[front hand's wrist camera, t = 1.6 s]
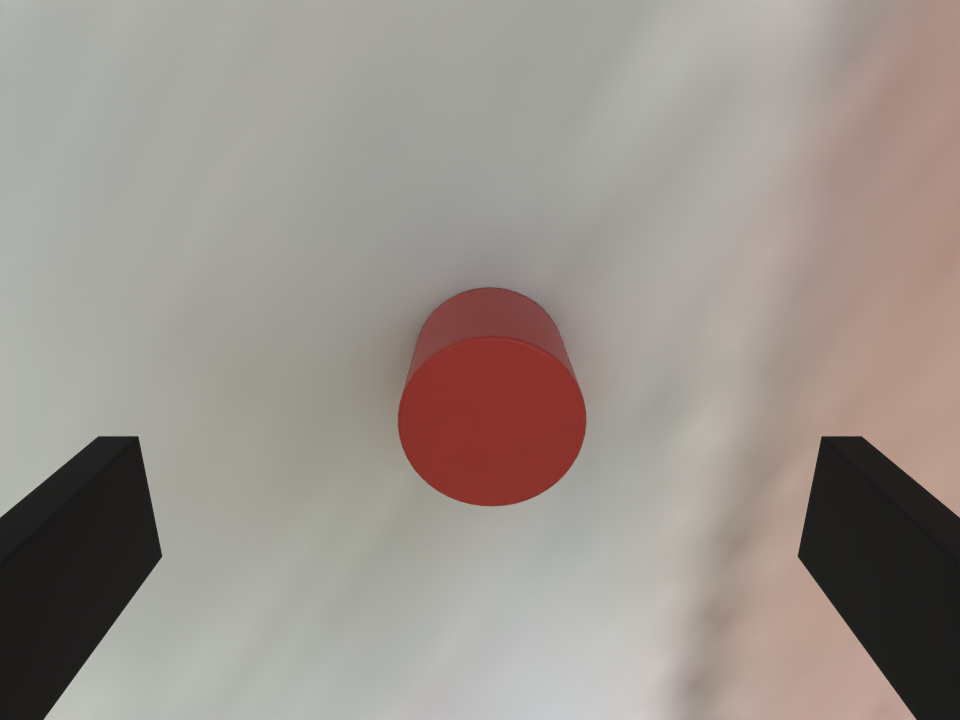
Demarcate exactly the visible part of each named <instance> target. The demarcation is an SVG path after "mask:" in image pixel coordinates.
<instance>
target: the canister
mask: <svg viewBox="0 0 960 720" xmlns="http://www.w3.org/2000/svg"><path fill="white" fill-rule="evenodd" d="M398 430H399V437H400V441H401V444H402V447H403V450H404V452H405V454H406V456H407V458H408V460H409V462H410V463H411V465H412V466H413V468H414V469H415V470H416V472H417V473H418V474H419V475H420V476H421V477H422V478H423V479H424V480H425V481H426V482H427V483H428V484H429V485H430V486H432V487H433V488H435V489H436V490H437V491H439V492H441V493H443V494H444V495H446V496H448V497H450V498H453V499H455V500H458V501H461V502H465V503H468V504H473V505H480V506H504V505H510V504H515V503H519V502H522V501H525V500H528V499H530V498H533V497H535V496H537V495H539V494H541V493H542V492H544V491H546V490H548V489H549V488H550V487H551V486H553V485H554V484H555V483H557V482H558V481H559V480H560V479H561V478H562V477H563V476H564V475H565V474H566V472H567V471H568V470H569V468H570V467H571V466H572V464H573V463H574V461H575V459H576V458H577V456H578V454H579V451H580V449H581V447H582V444H583V440H584V436H585V430H586V409H585V404H584V399H583V396H582V393H581V390H580V388H579V385H578V382H577V379H576V377H575V374H574V371H573V369H572V366H571V363H570V360H569V358H568V355H567V352H566V350H565V347H564V344H563V341H562V339H561V336H560V333H559V331H558V329H557V327H556V325H555V323H554V322H553V320H552V319H551V317H550V316H549V315H548V314H547V313H546V311H545V310H544V309H543V308H542V307H540V306H539V305H538V304H537V303H536V302H534V301H532V300H531V299H529V298H528V297H526V296H524V295H521V294H519V293H517V292H513V291H510V290H506V289H500V288H480V289H474V290H470V291H466V292H464V293H461V294H458V295H456V296H454V297H452V298H450V299H449V300H447V301H446V302H444V303H443V304H442V305H441V306H439V307H438V308H437V309H436V310H435V311H434V312H433V313H432V315H431V316H430V317H429V318H428V320H427V321H426V323H425V324H424V326H423V328H422V330H421V332H420V334H419V338H418V341H417V344H416V348H415V351H414V355H413V359H412V362H411V366H410V369H409V373H408V376H407V380H406V383H405V387H404V390H403V394H402V397H401V401H400V405H399V412H398Z"/></svg>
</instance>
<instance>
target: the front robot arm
mask: <svg viewBox="0 0 960 720" xmlns="http://www.w3.org/2000/svg"><path fill="white" fill-rule="evenodd" d="M161 557H162V553H161V548H160V543H159V538H158V533H157V528H156V523H155V518H154V513H153V508H152V503H151V498H150V493H149V488H148V483H147V478H146V473H145V468H144V463H143V458H142V453H141V448H140V443H139V438H138V436H98V437H97V438H96V439H95V440H94V441H92V442H91V443H90V444H89V445H87V446H86V447H85V448H84V449H83V450H81V451H80V452H79V453H78V454H77V455H75V456H74V457H73V458H72V459H71V460H69V461H68V462H67V463H66V464H65V465H63V466H62V467H61V468H60V469H59V470H57V471H56V472H55V473H54V474H53V475H51V476H50V477H49V478H48V479H47V480H45V481H44V482H43V483H42V484H40V485H39V486H38V487H37V488H36V489H34V490H33V491H32V492H31V493H30V494H28V495H27V496H26V497H25V498H24V499H22V500H21V501H20V502H19V503H18V504H16V505H15V506H14V507H13V508H12V509H10V510H9V511H8V512H7V513H6V514H4V515H3V516H2V517H1V518H0V720H44V718H45V717H46V715H47V714H48V713H49V711H50V710H51V709H52V707H53V706H54V704H55V703H56V702H57V700H58V699H59V698H60V696H61V695H62V693H63V692H64V691H65V689H66V688H67V687H68V685H69V684H70V682H71V681H72V680H73V678H74V677H75V676H76V674H77V673H78V671H79V670H80V669H81V667H82V666H83V665H84V663H85V662H86V660H87V659H88V658H89V656H90V655H91V654H92V652H93V651H94V650H95V648H96V647H97V645H98V644H99V643H100V641H101V640H102V639H103V637H104V636H105V634H106V633H107V632H108V630H109V629H110V628H111V626H112V625H113V623H114V622H115V621H116V619H117V618H118V617H119V615H120V614H121V612H122V611H123V610H124V608H125V607H126V606H127V604H128V603H129V601H130V600H131V599H132V597H133V596H134V595H135V593H136V592H137V590H138V589H139V588H140V586H141V585H142V584H143V582H144V581H145V579H146V578H147V577H148V575H149V574H150V573H151V571H152V570H153V568H154V567H155V566H156V564H157V563H158V562H159V560H160V559H161ZM798 557H799V559H800V560H801V562H802V563H803V564H804V566H805V567H806V568H807V570H808V571H809V573H810V574H811V575H812V577H813V578H814V579H815V581H816V582H817V584H818V585H819V586H820V588H821V589H822V590H823V592H824V593H825V595H826V596H827V597H828V599H829V600H830V601H831V603H832V604H833V606H834V607H835V608H836V610H837V611H838V612H839V614H840V615H841V617H842V618H843V619H844V621H845V622H846V623H847V625H848V626H849V628H850V629H851V630H852V632H853V633H854V634H855V636H856V637H857V639H858V640H859V641H860V643H861V644H862V645H863V647H864V648H865V650H866V651H867V652H868V654H869V655H870V656H871V658H872V659H873V660H874V662H875V663H876V665H877V666H878V667H879V669H880V670H881V671H882V673H883V674H884V676H885V677H886V678H887V680H888V681H889V682H890V684H891V685H892V687H893V688H894V689H895V691H896V692H897V693H898V695H899V696H900V698H901V699H902V700H903V702H904V703H905V704H906V706H907V707H908V709H909V710H910V711H911V713H912V714H913V715H914V717H915V718H916V720H960V518H959V517H958V516H957V515H956V514H954V513H953V512H952V511H951V510H950V509H948V508H947V507H946V506H945V505H944V504H942V503H941V502H940V501H939V500H938V499H936V498H935V497H934V496H933V495H932V494H930V493H929V492H928V491H927V490H926V489H924V488H923V487H922V486H921V485H920V484H918V483H917V482H916V481H915V480H913V479H912V478H911V477H910V476H909V475H907V474H906V473H905V472H904V471H903V470H901V469H900V468H899V467H898V466H897V465H895V464H894V463H893V462H892V461H891V460H889V459H888V458H887V457H886V456H885V455H883V454H882V453H881V452H880V451H879V450H877V449H876V448H875V447H874V446H873V445H871V444H870V443H869V442H868V441H866V440H865V439H864V438H863V437H862V436H822V438H821V443H820V448H819V453H818V458H817V463H816V468H815V473H814V478H813V483H812V488H811V493H810V498H809V503H808V508H807V513H806V518H805V523H804V528H803V533H802V538H801V543H800V548H799V553H798Z"/></svg>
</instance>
